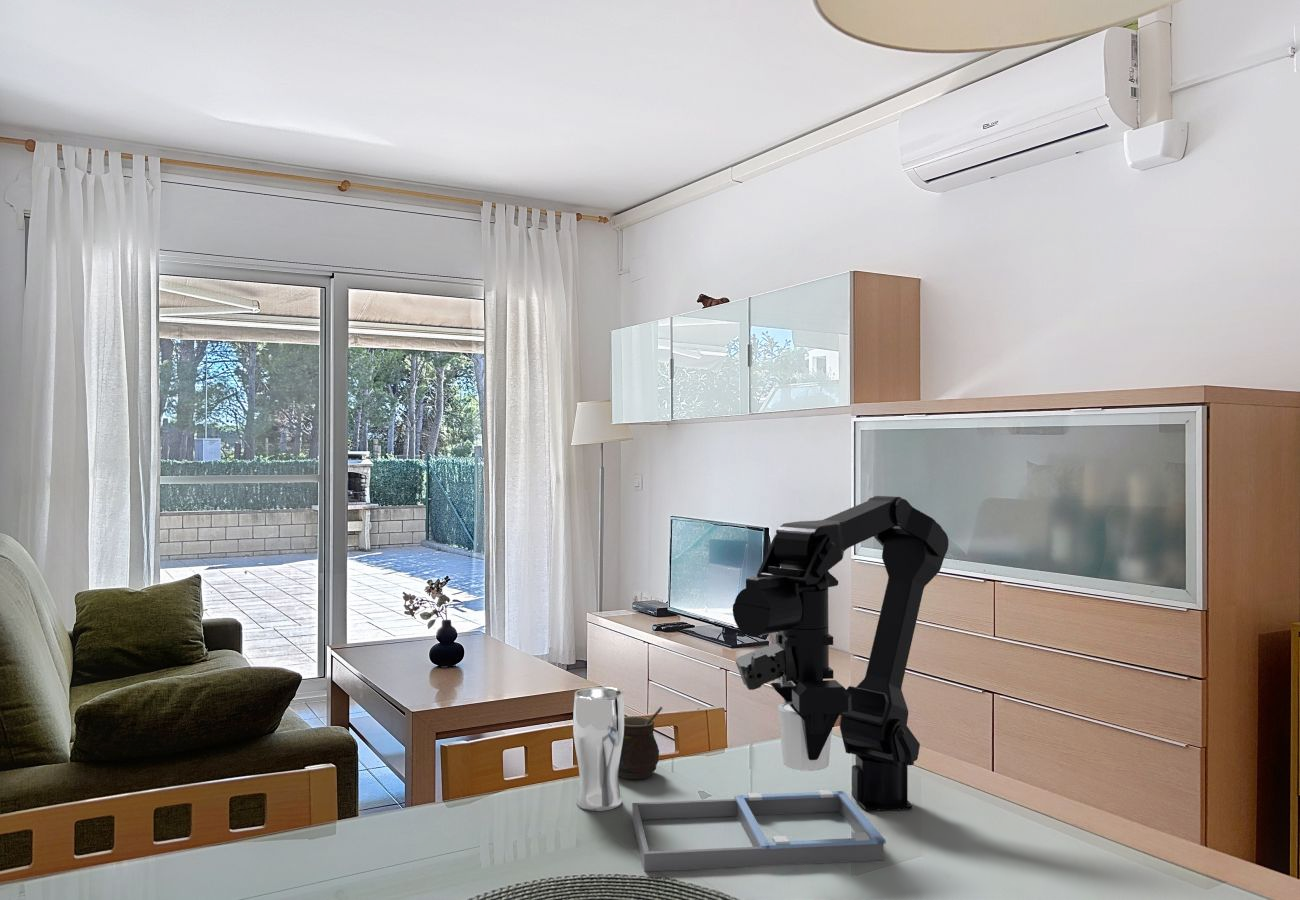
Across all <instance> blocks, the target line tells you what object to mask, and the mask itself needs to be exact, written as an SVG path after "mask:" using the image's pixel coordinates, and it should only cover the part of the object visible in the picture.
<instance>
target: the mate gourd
mask: <svg viewBox="0 0 1300 900" xmlns="http://www.w3.org/2000/svg"><path fill="white" fill-rule="evenodd" d="M662 710H663V707H662V706H660V707H659V708H658V709H657V711H655V713H653V714H652V716H651V717H650V718H649V717H645V716H637V715H636V716H624V720H625V726H624V740H623V747H622V753H621V759H620V765H619V776H618V777H620V778H622V779H625V780H626V779H627V780H643V779H647V778H649V777H651V775H652V774H653V773H654V772H655V771H656V769H657V765H658V763H659V758H660V749H659V746H658V743H657V741H656V738H655V734H654V730H655V728H654V727H655V722H654V720H655V718H656V717H657V716H658V714H660V712H661V711H662Z"/></svg>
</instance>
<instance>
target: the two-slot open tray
mask: <svg viewBox="0 0 1300 900" xmlns="http://www.w3.org/2000/svg"><path fill="white" fill-rule="evenodd" d="M631 807H632V809H631V811H632V816H631V817H632V818H631V819H632V822H633V823H632V824H633V827H634V831H635V832H634V833H635V836H636V841H637V844H638V850H639V854H640V855H639V856H640V859H641V863H642V868H643V871H644V872H660V871H661V872H663V871H665V872H666V871H679V870H680V871H681V870H687V871H688V870H702V869H703V870H705V869H722V868H723V869H726V868H727V869H728V868H744V867H746V868H748V867H749V868H750V867H766V866H767V867H768V866H786V865H787V866H788V865H791V866H792V865H811V864H830V863H853V862H855V863H857V862H870V861H871V862H872V861H873V862H874V861H875V862H876V861H884V860H885V859H884V857H885V856H884V851H885V850H884V848H885V847H884V844H887V841H886V839H885V838H884V837H883V835H882V834H881V833H880V832H879V831H878V829H877V828H876V827H875V826H874V825H873V824H872V822H871V821H870V820H869V819H868V818H867V817H866V815H865V814H864V813H863V812H862V810H860V808H859V807H858V806H857V805H856V804H855V803H854V801H853V800H852V799H851V797H849V796H848V794H847V793H846V792H845V791H844V790H841V791H839V790H836V791H832V790H831V789H821V790H819V789H818V790H817V791H811V792H790V793H765V794H764V793H760V792H747V794H738V795H737V794H736V795H734V798H727V799H704V800H701V799H700V800H699V799H698V800H682V801H681V800H679V801H673V800H672V801H654V802H652V801H651V802H650V801H649V802H632V804H631ZM833 812H834V813H835V812H839V813H840V814H841V815H842V817H843V818H844V819H845V820H846V822H847V823H848V824H849V825H850V827H851V828H852V829H853V830H854V832H851V838H847V837H845V838H827V839H806V840H805V839H804V840H801V839H800V840H789V839H788V836H787V835H776V836H775V835H774V836H772V840H771V841H768V839H767V838H766V836H765V834H764V832H763V830H762V828H761V827H760V825H759V823H758V822H757V821H758V820H756V817H755V816H764V815H767V816H768V815H789V814H812V813H813V814H814V813H817V814H818V813H833ZM716 817H717V818H718V817H737V818H738V820H739V822H740V823H741V827H742V829H743V830H744V833H745V834H746V836H747V837H748V839H749V841H750V843H751V845H752V846H744V847H743V846H741V847H722V848H721V847H719V848H701V849H700V848H699V849H698V848H697V849H696V848H694V849H676V850H675V849H674V850H653V851H652V850H651V851H650V850H649V846H648V843H647V839H646V834H645V830H644V826H643V823H642V821H645V820H646V821H647V820H669V819H671V820H672V819H674V820H675V819H687V818H688V819H692V818H693V819H695V818H698V819H699V818H716Z"/></svg>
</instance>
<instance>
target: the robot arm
mask: <svg viewBox="0 0 1300 900" xmlns="http://www.w3.org/2000/svg"><path fill="white" fill-rule="evenodd" d="M775 533H776V534H775V535H774V537H773V538H772V541H771V543H770V544H769V547H768V550H767V551H766V554H765V556H764V559H763V560H762V563H761V565H760V567H759V569H758V571H757V573H756V576H755V577H754V576H751V577H746V579H745V588H743V589H742V590H740V591H739V592H738V594H737V595H736V598H735V600H734V603H733V604H732V615H733V620H734V622H735V624H736V626H737V628H738V629H739V630H740V631H741V633H743V634H744V635H746V636H748V637H751V638H754V637H755V638H756V637H762V636H765V635H770V634H775V642H774V643H773V644H771V645H768V646H763V647H760V648H758V649H756V650H754V651H753V650H752V651H751V652H747V653H746V654H743V655H741V656H739V657H736V659H735V660H734V661H735V665H736V667H737V669H738V672H739V674H740V677H741V680H742V683H743V685H745V686H746V688H747V690H749V691H754V690H756V689H760V688H761V687H762V686H763V685H765V684H768V683H770V686H771V687H772V689H774V690H775V692H776V693H778V694H779V696H781V698H783V700H784V703H786V702H790V701H793V704H789V705H790V707H791V708H792V709H793V710H794V711H795V712H796V713H797V714H798V715H799V716H800V717H801V719H802V725H803V731H804V738H805V744H806V750H807V755H808V759H809V760H817V759H818V758H819V756H820V753H821V751H822V749H823V747H824V745H825V743H826V741H827V738H828V736H829V734H830V732H831V730H833V728H834V726H835V725H836V723H837V721H838V719H839V730H840V733H841V737H842V742H843V747H844V750H845V753H846V754H848V755H854V756H855V764H853V765H852V766H851V796H852V797H853V798H854V799H855V800H856V801H857V803H858V804H859V805H860V806H861V807H862V808H863V810H865V811H870V812H871V811H889V810H890V811H891V810H892V811H894V810H911V809H913V803H911V802H910V801H909V800H908V793H909V791H908V785H909V784H908V772H909V771H908V766H914V765H915V762H916V761H918V758H919V753H920V748H921V744H920V741H918V739H917V738H916V736H915V735H914V734H913V732H912V731H911V729H910V727H908V719H909V709H908V706H907V702H906V700H905V697H904V693H903V691H902V688H903V682H904V677H905V674H906V669H907V664H908V661H909V656H910V651H911V647H912V642H913V638H914V634H915V633H914V632H915V629H916V625H917V622H918V621H917V619H918V615H919V612H920V606H921V602H922V597H923V594H924V593H923V592H924V589H925V587H926V586H927V585H928V584H929V583H930V582H931V581H932V580H933V579H934V578H935V577H936V576H937V574H939V573H940V572H941V569H942V565H943V562H944V559H945V557H946V553H947V552H948V549H949V537H948V534H947V533H946V531H945V530H944V529H943V528H942V526H941V525H940V524H939V523H938V522H937V521H936V520H935V519H934V518H933V517H931V516H929V515H927V514H925V513H924V512H922V511H920V510H919V509H916V508H915V507H913V506H912V505H911V503H910V502H909V501H908V500H907V499H905V498H903V497H900V496H888V495H874V496H873V497H869V499H867V501H864V502H863V503H860V504H858V505H855V506H853V507H849V508H848V509H845V510H843V511H840V512H839V513H836V514H833V515H831V516H829V517H827V518H824V519H819V520H804V521H803V520H802V521H793V522H786V523H783V524H781V525H780V526H778V528H777V529H776V531H775ZM871 538H874V539H875V540H876V541H877V542H878V543H879V544H880V545H881V546H882V552H881V553H882V554H881V560H882V562H883V565H884V569H885V571H886V574H887V577H888V578H887V583H886V587H885V591H884V595H883V599H882V605H881V608H880V613H879V616H878V621H877V625H876V629H875V632H874V633H875V635H874V637H873V642H872V645H871V646H872V647H871V651H870V654H869V660H868V663H867V667H866V671H865V672H866V673H865V676H864V678H863V679H862V680H861V681H860V682H859V683H858V684H857V685H856V686H852V685H849V686H847V689H846V688H845V687H844V685H842V684H841V683H840V682H838V681H837V680H836V679H834V669H832V668H831V667H830V666H829V665H830V663H829V661H830V659H829V657H830V656H829V653H830V652H829V649H830V647H829V646H834V636H833V635H831V634H830V632H829V628H830V627H829V588H832V587H838V585H839V580H838V579H837V578H836V577H835V576H834V575H833V574H831V572H829V571H830V570H831V569H832V568H833V567H835V566H836V565H837V564H838V563H840V562H841V561H842V560H843V558H844V553H845V551H846V550H848V549H849V548H851V547H854V546H856V545H858V544H861V543H862V542H864V541H867V540H868V539H871ZM827 679H828V680H827ZM772 681H773V682H772ZM774 681H776V682H774ZM771 682H772V683H771ZM839 717H840V718H839Z"/></svg>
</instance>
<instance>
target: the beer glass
mask: <svg viewBox="0 0 1300 900" xmlns="http://www.w3.org/2000/svg"><path fill="white" fill-rule="evenodd" d="M623 692H624V691H623V690H621V689H619V688H616V687H611V686H592V687H591V686H590V687H584V688H580V689H578V690H576V691H575V692H574V700H573V701H574V702H573V714H572V715H573V716H572V717H573V718H572V722H573V723H572V728H573V732H572V734H573V742H574V746H575V753H576V754H575V755H576V759H577V765H578V766H577V767H578V771H579V783H578V792H577V797H576V805H577V806H578V808H580V809H583V810H585V811H591V812H605V811H611V810H613V809H617V808H618V807H620V806H621V804H622V801H623V800H622V794H621V789H620V782H619V781H620V780H619V777H620V776H619V765H620V759H621V753H622V747H623V740H624V726H625V720H624V717H625V705H624V693H623Z"/></svg>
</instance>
